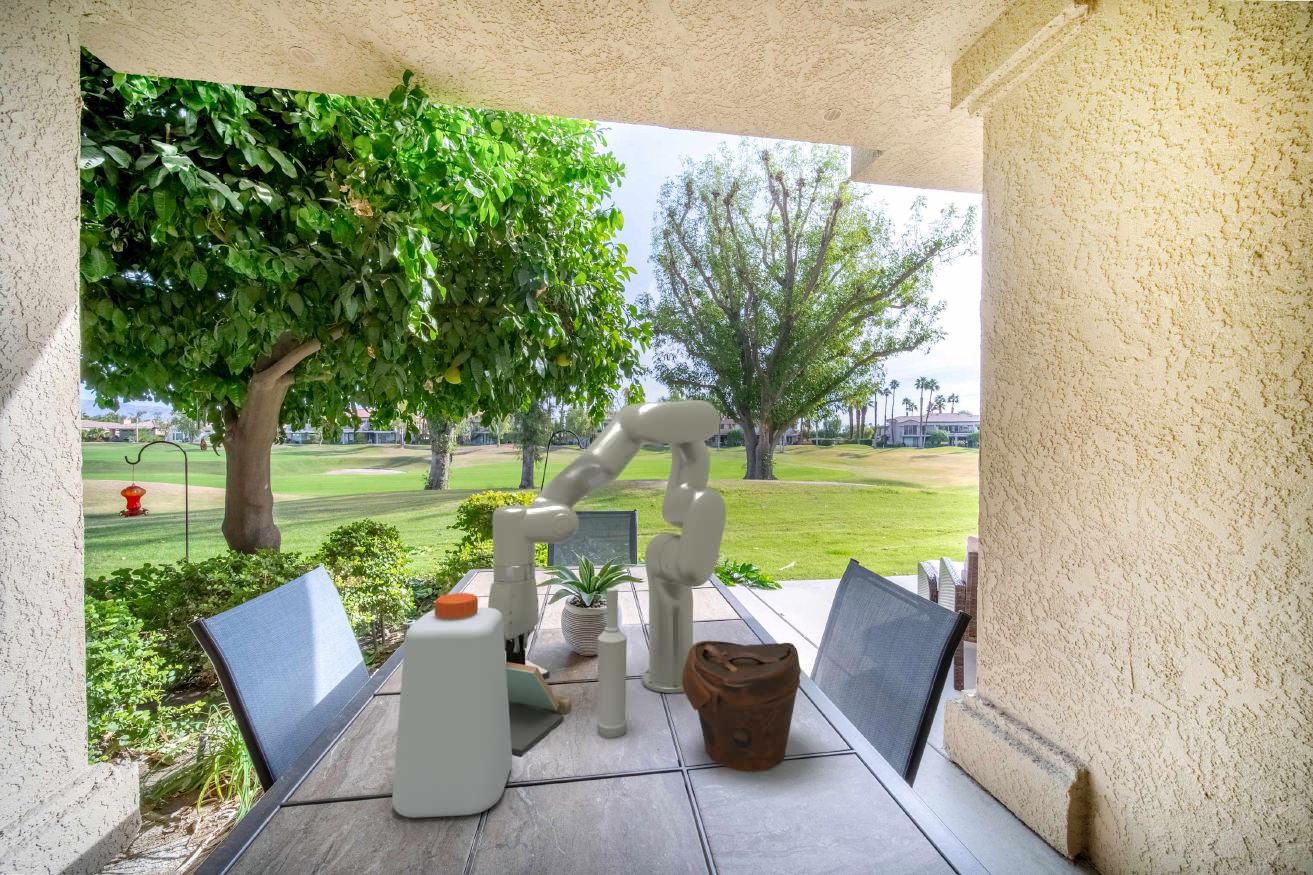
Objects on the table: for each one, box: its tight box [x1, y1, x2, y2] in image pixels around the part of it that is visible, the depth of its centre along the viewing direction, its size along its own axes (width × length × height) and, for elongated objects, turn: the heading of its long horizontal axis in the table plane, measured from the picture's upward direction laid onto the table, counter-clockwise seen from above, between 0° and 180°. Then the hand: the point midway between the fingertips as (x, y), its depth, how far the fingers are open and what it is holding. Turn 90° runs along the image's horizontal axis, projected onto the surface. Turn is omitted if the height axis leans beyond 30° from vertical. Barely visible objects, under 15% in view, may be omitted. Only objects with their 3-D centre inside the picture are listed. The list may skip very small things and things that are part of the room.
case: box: [682, 640, 802, 772], centre depth 94 cm, size 18×20×18 cm
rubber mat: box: [509, 705, 564, 757], centre depth 102 cm, size 18×13×1 cm
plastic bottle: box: [391, 592, 513, 819], centre depth 84 cm, size 15×15×28 cm
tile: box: [506, 662, 559, 710], centre depth 106 cm, size 1×14×12 cm
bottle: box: [597, 587, 628, 739], centre depth 101 cm, size 5×5×25 cm
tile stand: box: [508, 694, 572, 715], centre depth 111 cm, size 16×3×2 cm, turn 68°
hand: (515, 671), depth 106 cm, fingers closed
